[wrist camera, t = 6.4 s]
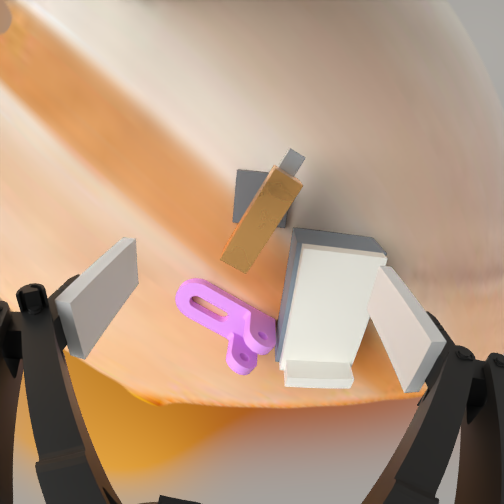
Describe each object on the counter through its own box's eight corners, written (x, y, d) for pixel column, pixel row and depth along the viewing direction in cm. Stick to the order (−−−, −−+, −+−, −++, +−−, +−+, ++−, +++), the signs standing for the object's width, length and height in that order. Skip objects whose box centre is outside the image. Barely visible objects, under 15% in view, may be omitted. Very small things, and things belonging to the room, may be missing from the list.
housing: (237, 169, 33) (232, 175, 28) (382, 190, 33) (399, 199, 28) (224, 332, 41) (220, 355, 37) (343, 342, 41) (350, 365, 37)
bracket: (275, 318, 40) (276, 352, 34) (252, 345, 42) (250, 379, 36) (189, 270, 38) (175, 297, 32) (171, 300, 40) (156, 330, 34)
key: (231, 227, 35) (219, 259, 26) (282, 143, 31) (288, 147, 22) (251, 238, 35) (246, 274, 27) (302, 156, 31) (316, 164, 23)
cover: (302, 243, 30) (307, 261, 26) (383, 253, 30) (398, 270, 26) (279, 362, 37) (280, 387, 32) (346, 365, 36) (353, 389, 32)
